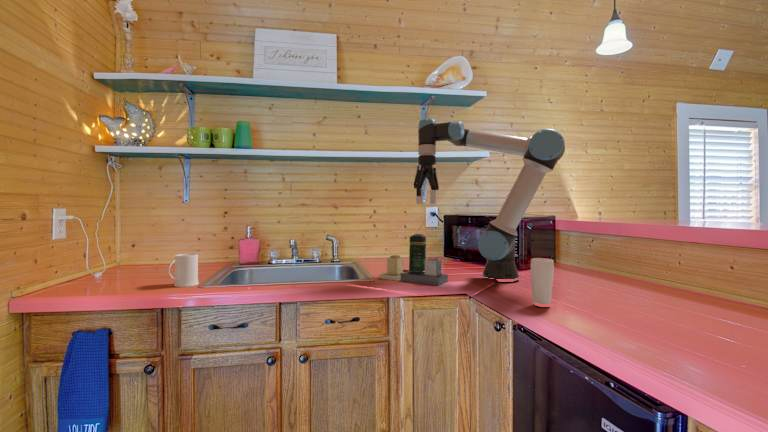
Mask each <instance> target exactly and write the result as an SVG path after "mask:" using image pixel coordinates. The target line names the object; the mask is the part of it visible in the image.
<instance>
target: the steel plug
mask: <svg viewBox="0 0 768 432" xmlns="http://www.w3.org/2000/svg"><path fill="white" fill-rule="evenodd" d="M442 261H443V260H442V259H439V258H438V257H429V258H428V259H426V260H425V276H431V277H439V276H441V274H442V266H443V264H442Z"/></svg>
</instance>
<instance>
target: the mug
mask: <svg viewBox="0 0 768 432" xmlns="http://www.w3.org/2000/svg"><path fill="white" fill-rule="evenodd" d="M173 264H174V276H173V275H172V273H171V270H170V269H171V267H172V265H173ZM167 274H168V275H169V277H170V278H171V279H172V280H174V284H173V285H174V287H176V288H187V287H188V288H189V287H190V288H191V287H196V286H198V285H199V284H200V283H199V255H198V253H180V254H179V253H178V254H175V255H174V260H172V261H171V262H170V263H169V264H168V267H167Z"/></svg>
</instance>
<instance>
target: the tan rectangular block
mask: <svg viewBox="0 0 768 432" xmlns="http://www.w3.org/2000/svg"><path fill="white" fill-rule="evenodd" d="M386 262H387V263H386V273H387V275H390V276H400V275H401V273H403V272H404V257H402V256H401V255H398V254H397V255H396V254H393V255H392V254H391V255H389V256H388V257H386Z"/></svg>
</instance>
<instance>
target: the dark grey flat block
mask: <svg viewBox="0 0 768 432" xmlns="http://www.w3.org/2000/svg"><path fill="white" fill-rule="evenodd" d="M403 272H404V273H401V280H400V282H405V283H406V282H407V283H414V284H419V285H420V284H421V285H427V286H428V285H429V286H437V287H440V286H442V285H444V284H446V283H448V282H449V274H445V273H441V276H439V277H431V276H425V272H420V271H409V270H408V271H403Z"/></svg>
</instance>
